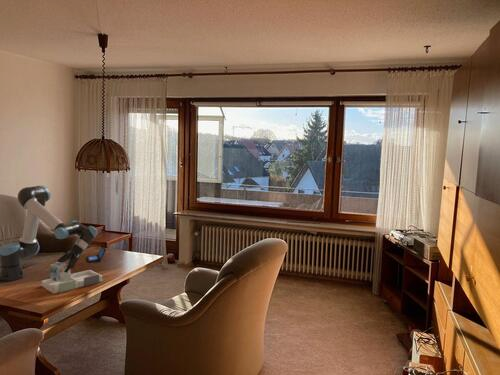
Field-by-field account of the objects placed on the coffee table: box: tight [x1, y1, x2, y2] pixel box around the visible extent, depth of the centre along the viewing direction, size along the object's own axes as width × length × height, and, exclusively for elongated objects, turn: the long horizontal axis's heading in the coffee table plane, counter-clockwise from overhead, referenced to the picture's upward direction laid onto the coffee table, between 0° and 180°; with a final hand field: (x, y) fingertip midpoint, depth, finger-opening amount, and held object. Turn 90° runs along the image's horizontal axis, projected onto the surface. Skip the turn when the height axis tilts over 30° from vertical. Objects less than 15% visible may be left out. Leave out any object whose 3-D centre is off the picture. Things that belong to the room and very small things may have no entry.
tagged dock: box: [41, 269, 104, 294], centre depth 261 cm, size 33×20×6 cm, turn 138°
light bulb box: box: [49, 261, 72, 282], centre depth 255 cm, size 11×7×11 cm, turn 76°
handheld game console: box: [86, 245, 107, 263], centre depth 317 cm, size 16×13×9 cm
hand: (56, 274), depth 253 cm, fingers closed on light bulb box, 12 cm apart
